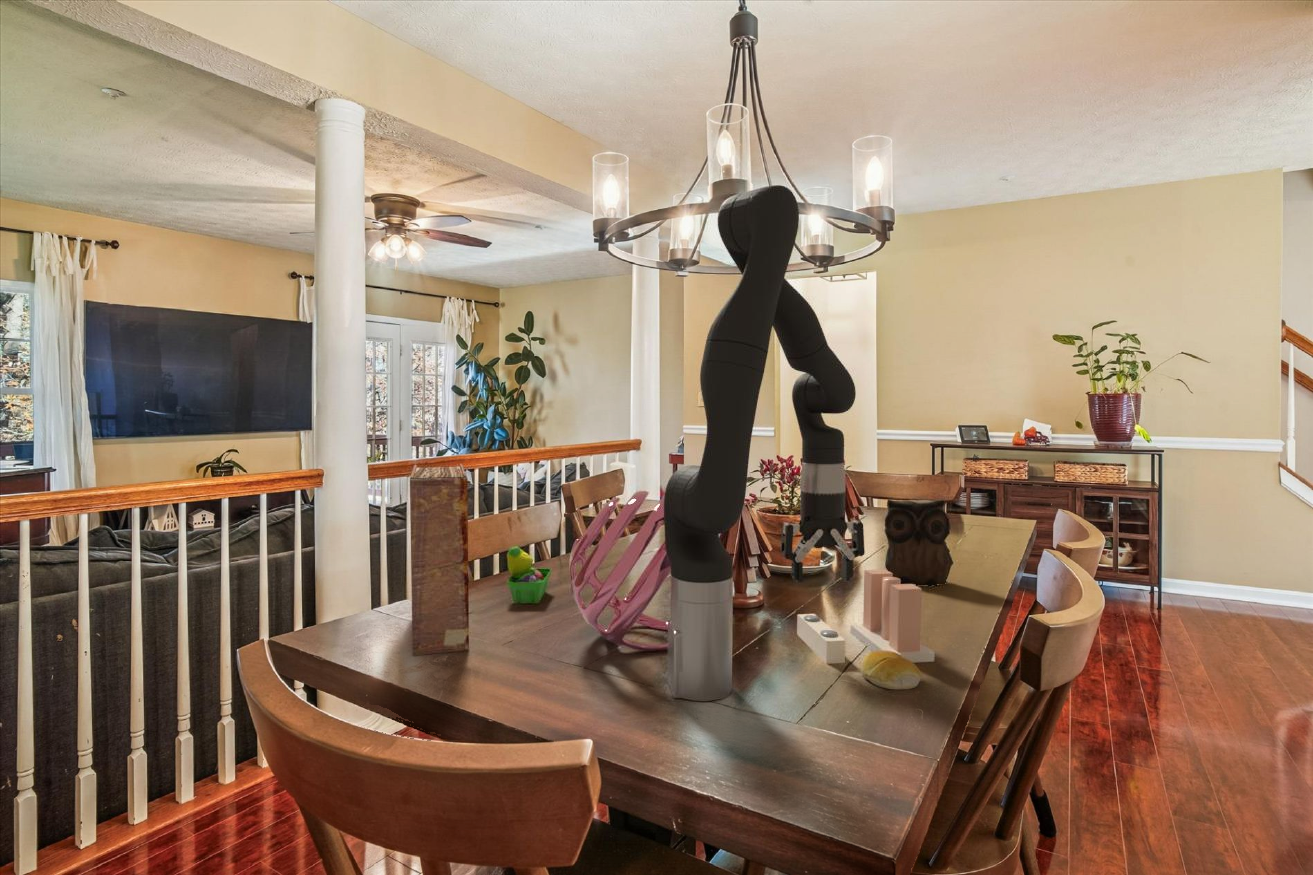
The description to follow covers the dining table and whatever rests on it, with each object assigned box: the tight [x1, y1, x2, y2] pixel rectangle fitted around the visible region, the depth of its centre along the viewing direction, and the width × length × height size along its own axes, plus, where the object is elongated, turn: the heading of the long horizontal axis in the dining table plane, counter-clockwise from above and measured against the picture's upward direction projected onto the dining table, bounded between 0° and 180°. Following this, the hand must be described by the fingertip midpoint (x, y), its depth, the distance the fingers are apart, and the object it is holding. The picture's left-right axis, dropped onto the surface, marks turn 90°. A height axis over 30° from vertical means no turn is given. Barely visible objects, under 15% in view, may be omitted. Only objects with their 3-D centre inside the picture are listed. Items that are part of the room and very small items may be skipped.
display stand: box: [849, 568, 935, 664], centre depth 120 cm, size 15×8×12 cm, turn 8°
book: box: [409, 463, 470, 656], centre depth 127 cm, size 25×9×30 cm, turn 18°
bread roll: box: [860, 651, 922, 690], centre depth 106 cm, size 8×9×4 cm
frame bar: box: [796, 613, 846, 665], centre depth 119 cm, size 14×3×4 cm, turn 8°
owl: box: [884, 498, 954, 587], centre depth 162 cm, size 13×13×20 cm
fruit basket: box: [506, 546, 552, 605], centre depth 148 cm, size 11×9×11 cm
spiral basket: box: [568, 490, 671, 652], centre depth 123 cm, size 28×28×27 cm
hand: (822, 581), depth 118 cm, fingers open, 8 cm apart
